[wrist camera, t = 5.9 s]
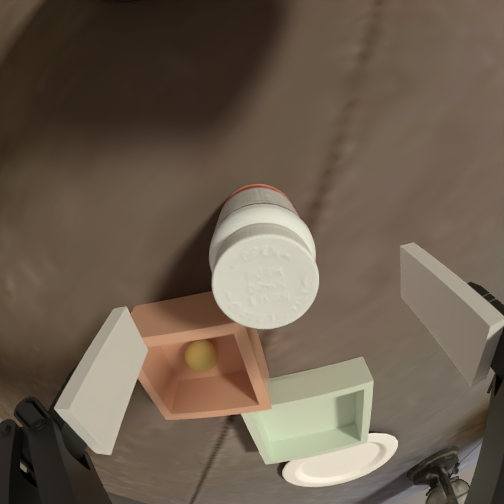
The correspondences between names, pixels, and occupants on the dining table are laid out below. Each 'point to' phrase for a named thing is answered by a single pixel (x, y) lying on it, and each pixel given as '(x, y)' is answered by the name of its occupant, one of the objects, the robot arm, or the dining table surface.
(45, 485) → the robot arm
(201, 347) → the yellow ball
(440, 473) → the lantern
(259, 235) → the pill bottle
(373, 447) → the plate
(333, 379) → the green tray
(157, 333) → the orange open box
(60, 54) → the dining table surface
